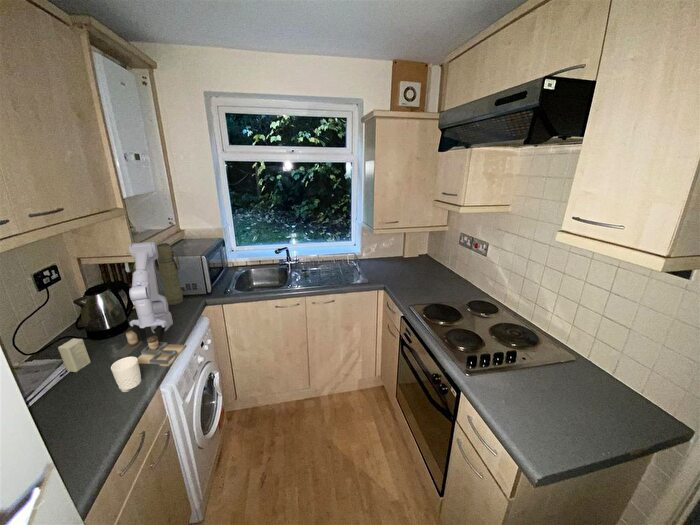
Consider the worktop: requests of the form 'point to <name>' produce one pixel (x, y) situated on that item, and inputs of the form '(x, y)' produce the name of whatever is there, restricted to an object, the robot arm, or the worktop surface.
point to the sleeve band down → (132, 338)
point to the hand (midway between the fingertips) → (152, 340)
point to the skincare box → (74, 354)
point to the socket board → (161, 354)
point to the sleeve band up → (153, 343)
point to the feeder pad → (126, 350)
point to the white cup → (126, 373)
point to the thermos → (169, 273)
